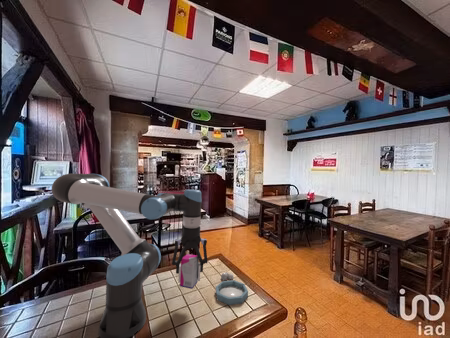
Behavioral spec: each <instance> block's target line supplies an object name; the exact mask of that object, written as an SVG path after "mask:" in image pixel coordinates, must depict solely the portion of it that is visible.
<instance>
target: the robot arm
mask: <svg viewBox="0 0 450 338" xmlns="http://www.w3.org/2000/svg"><path fill="white" fill-rule="evenodd" d="M51 194H52V195H53V197H54V198H55V199H56V200H58V201H59V202H62V203H66V204H71V205H80V204H81V205H82V206H83V208H85V209H90V211H91V212H92V213H93V215H94V216H95V217H96V219H97V220H98V221H99V223H100V225H101V226H102V228H104V230H105V231H106V233H107V234H108V236H110V238H111V239H112V241H113V242H114V244H115V245H116V246H117V248H118V249H119V250H120V252H121V254H120V255H118V256H117V257H115V258H114V259H112V260H111V261H110V262H109V263H108V265H107V269H106V275H105V278H106V280H105V282H106V284H105V287H106V288H105V308H104V310H103V311H104V312H103V314H102V316H101V319H100V322H99V325H98V336H99V338H131V337H133V336H135V335H134V333H136V332H137V331H138V332H140V331H141V330H142V329H143V327H144V325H145V324H146V320H147V311H146V308H145V305H144V302H143V299H142V297H143V296H142V294H143V292H142V291H143V288H142V287H143V283H144V282H145V281H146V280H148V278H149V277H150V276H151V275H152V274H153V273H154V272H155V271H156V269H157V268H158V267H159V265H160V264H161V258H162V255H161V250H160V248H159V247H158V246H157V245H156V244H153V243H149V242H148V241H147V240H146V239H145V238H141V237H140V235H138V234H137V232H136V231H135V230H134V229H133V227H132V225H131V224H130V223H129V221H128V220H127V219H126V218H125V216H124V215H123V214H122V212H121V211H123V212H127V213H131V214H132V213H133V214H139V215H142V216H143V217H144V218H145V219H147V220H158V219H160V218H162V217H163V216H165V215H167V214H168V213H169V214H170V213H171V212H180V213H181V212H182V213H183V215H182V234H181V238H179V239H177V238H176V239H175V240H174V251H173V256H172V261H171V264H172V266H175V274H178V280H177V281H178V283H179V284H180V276H181V260H182V258H183V257H184V256H185V253H186V252H187V250H189V249H192V250H193V249H194V250H195V252H196V255H197V256H198V259H199V261H198V282H201V273H203V271H204V264H208V261H209V260H208V252H207V251H208V250H207V243H208V240H207V238H202V237H201V224H202V223H201V222H202V221H201V219H202V201H203V200H202V191H201V190H199V189H184V192H183V193H170V192H169V193H168V192H159V193H158V194H157V195H153V194H147V193H143V192H138V191H137V192H136V191H132V190H126V189H121V188H115V187H111V186H110V183H109V181H108V179H107V177H105V176H103V175H101V174H97V173H90V172H89V173H66V174H63V175H60V176H59V177H57V178H56V179H55V180H54V181H53V183H52V185H51ZM200 243H201V244H202V250H203V258H202V255H201V251H200V249H199V246H198V245H200ZM181 244H182V245H183V246H182V249H181V252H180V253H179V256H178V258H177V255H178V249H179V246H180V245H181ZM176 259H177V260H176ZM140 329H141V330H140ZM139 330H140V331H139ZM138 332H137V333H138ZM137 333H136V334H137Z"/></svg>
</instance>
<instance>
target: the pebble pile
mask: <svg viewBox="0 0 450 338" xmlns="http://www.w3.org/2000/svg"><path fill="white" fill-rule="evenodd" d="M220 277H221V280H222V281H228V280H229V281H231V280H234V274H233V273H229V272H223V273H221V276H220Z"/></svg>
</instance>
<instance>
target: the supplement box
mask: <svg viewBox="0 0 450 338" xmlns="http://www.w3.org/2000/svg"><path fill="white" fill-rule="evenodd" d="M199 262H200V261H199V259H198V256H197V254H196V255H195V254H191V253H187V254H184V256H183V258H182V260H181V262H180V264H181V276H180V283H179V287H182V288H186V289H191V290H193V289H194V288H195V286H196V285H197V283H198V282H199V281H198V263H199Z"/></svg>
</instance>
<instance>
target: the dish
mask: <svg viewBox="0 0 450 338" xmlns="http://www.w3.org/2000/svg"><path fill="white" fill-rule="evenodd" d="M215 295H216V300H217V301H219V302H221V303H224V304H226V305H228V306H231V305H238V304H239V305H240V304H243V303H244V301H246V299H247V298H248V297H249V290H248V288H247V287H246V285H245V283H243V282H240V281H237V280H234V279H232V280H222V281H221V282H220V283H218V284H217V285H216V286H215Z"/></svg>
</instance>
